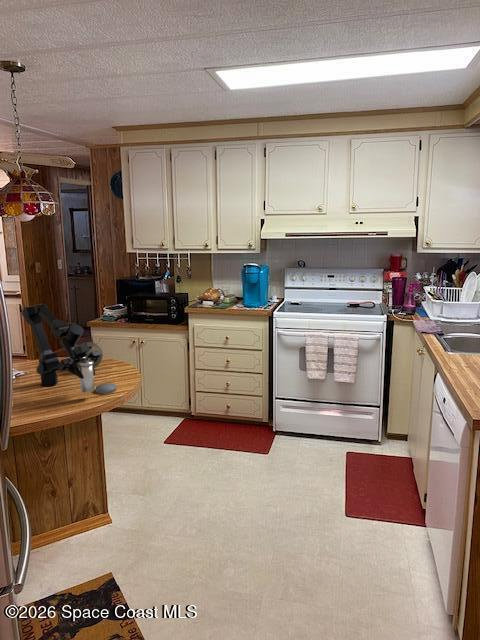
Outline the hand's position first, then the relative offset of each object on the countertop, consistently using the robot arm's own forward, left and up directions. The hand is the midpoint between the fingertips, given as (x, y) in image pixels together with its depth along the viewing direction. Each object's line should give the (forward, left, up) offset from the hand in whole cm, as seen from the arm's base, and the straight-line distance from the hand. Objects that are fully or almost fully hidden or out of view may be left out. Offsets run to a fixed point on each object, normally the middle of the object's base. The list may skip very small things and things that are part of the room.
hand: (88, 376), depth 202 cm
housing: (-1, +1, -7) cm, 7 cm away
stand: (+4, +11, -11) cm, 16 cm away
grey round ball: (-13, +42, -11) cm, 45 cm away
